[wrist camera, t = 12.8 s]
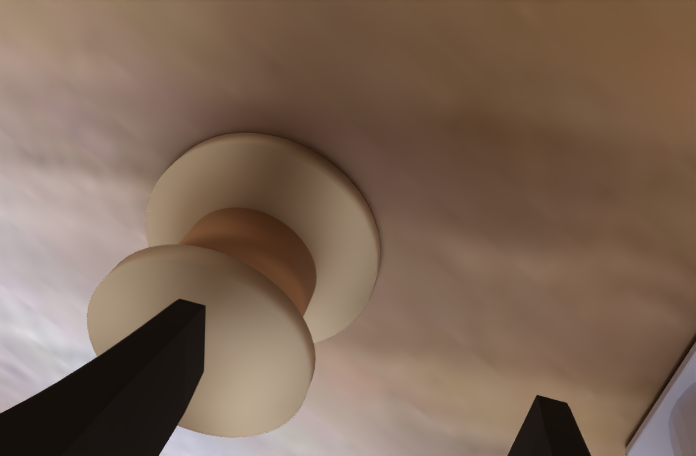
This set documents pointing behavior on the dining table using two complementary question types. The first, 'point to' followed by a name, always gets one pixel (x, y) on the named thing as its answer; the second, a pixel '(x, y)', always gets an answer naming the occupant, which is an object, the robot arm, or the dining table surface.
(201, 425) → the bobbin
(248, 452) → the dining table surface
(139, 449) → the robot arm
